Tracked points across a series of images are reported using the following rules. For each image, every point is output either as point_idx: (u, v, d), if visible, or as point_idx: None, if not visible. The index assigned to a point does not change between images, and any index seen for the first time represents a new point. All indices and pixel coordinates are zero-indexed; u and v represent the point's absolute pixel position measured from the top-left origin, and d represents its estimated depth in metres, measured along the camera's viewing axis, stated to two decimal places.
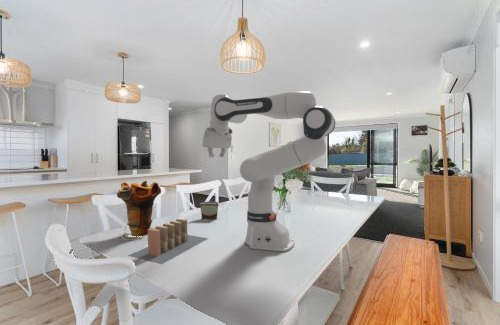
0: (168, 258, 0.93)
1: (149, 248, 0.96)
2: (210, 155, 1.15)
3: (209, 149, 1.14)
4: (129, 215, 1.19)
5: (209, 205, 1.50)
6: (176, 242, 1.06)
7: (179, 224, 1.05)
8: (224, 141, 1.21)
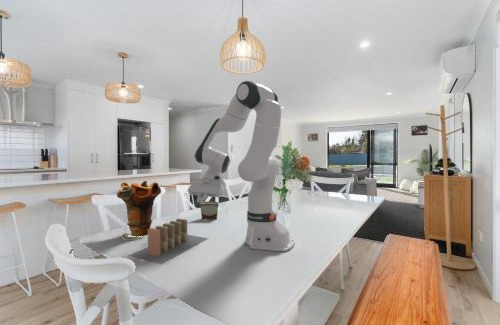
0: (168, 258, 0.93)
1: (149, 248, 0.96)
2: None
3: None
4: (129, 216, 1.19)
5: (209, 205, 1.50)
6: (176, 242, 1.06)
7: (179, 224, 1.05)
8: (209, 187, 1.24)
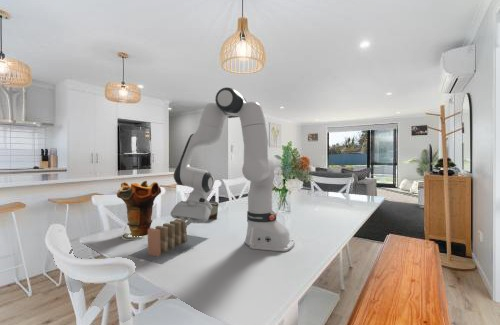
0: (168, 258, 0.93)
1: (149, 248, 0.96)
2: None
3: None
4: (129, 215, 1.19)
5: None
6: (176, 242, 1.06)
7: (179, 224, 1.05)
8: (194, 211, 1.13)
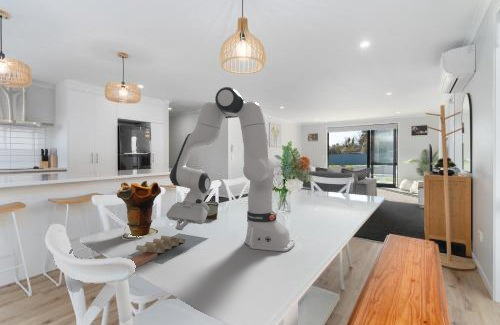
0: (168, 258, 0.93)
1: None
2: None
3: None
4: (129, 216, 1.19)
5: (209, 205, 1.50)
6: None
7: (163, 242, 0.97)
8: (190, 212, 1.11)
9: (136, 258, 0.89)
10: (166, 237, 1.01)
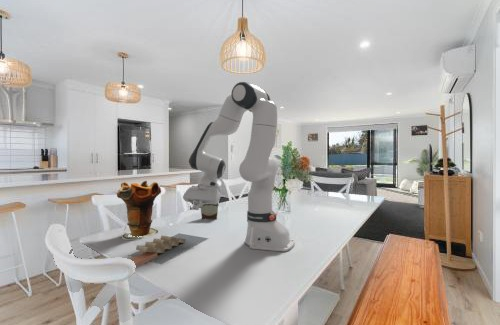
0: (168, 258, 0.93)
1: None
2: None
3: None
4: (129, 215, 1.19)
5: (209, 205, 1.50)
6: None
7: (163, 242, 0.97)
8: (205, 194, 1.21)
9: (136, 258, 0.89)
10: (166, 237, 1.01)
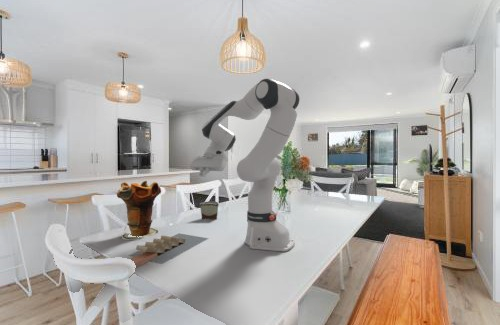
0: (168, 258, 0.93)
1: None
2: None
3: None
4: (129, 215, 1.19)
5: (209, 205, 1.50)
6: None
7: (163, 242, 0.97)
8: (211, 161, 1.26)
9: (136, 258, 0.89)
10: (166, 237, 1.01)
